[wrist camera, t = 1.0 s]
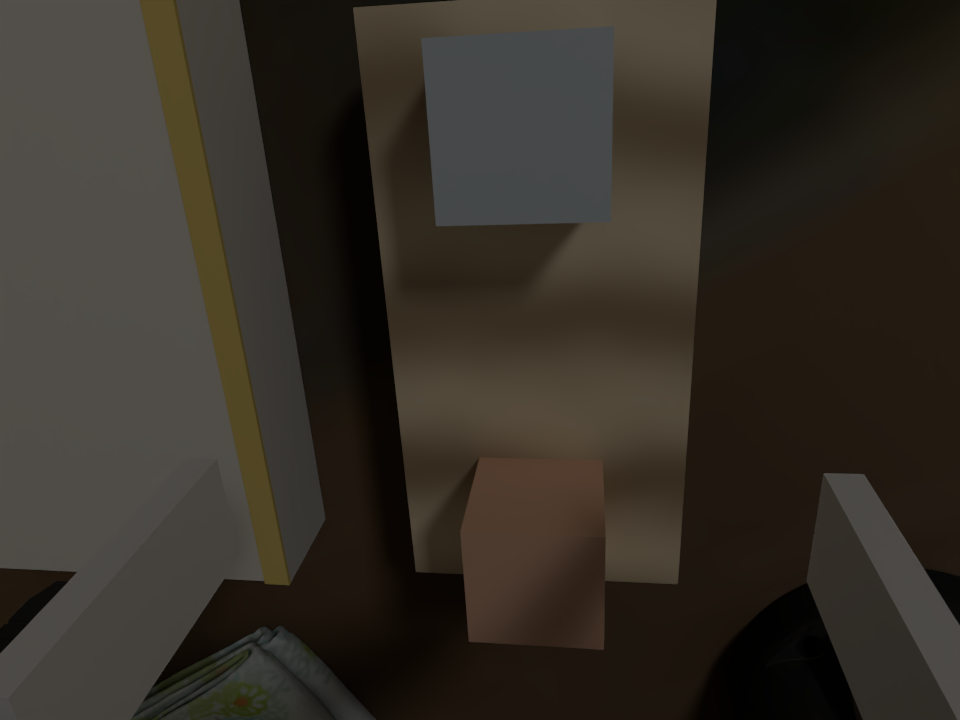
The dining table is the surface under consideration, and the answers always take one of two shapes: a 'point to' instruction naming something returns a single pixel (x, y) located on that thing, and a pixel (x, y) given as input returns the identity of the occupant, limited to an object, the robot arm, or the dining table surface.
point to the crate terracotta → (535, 553)
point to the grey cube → (521, 126)
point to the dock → (141, 284)
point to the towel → (255, 685)
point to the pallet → (547, 283)
